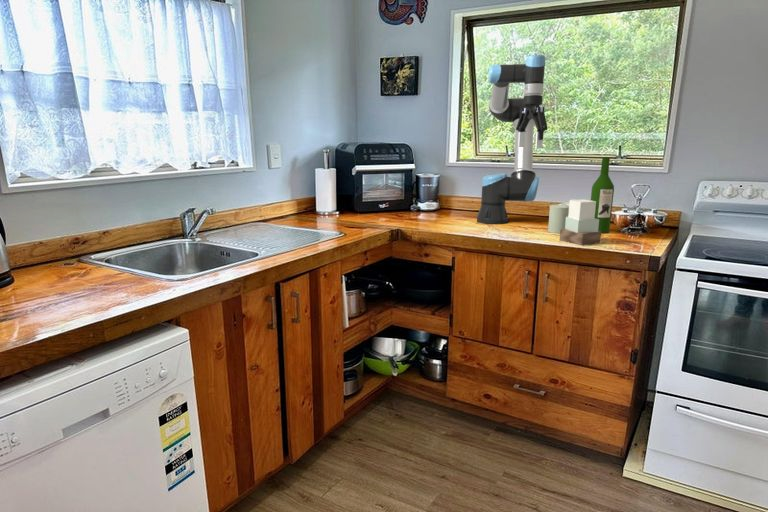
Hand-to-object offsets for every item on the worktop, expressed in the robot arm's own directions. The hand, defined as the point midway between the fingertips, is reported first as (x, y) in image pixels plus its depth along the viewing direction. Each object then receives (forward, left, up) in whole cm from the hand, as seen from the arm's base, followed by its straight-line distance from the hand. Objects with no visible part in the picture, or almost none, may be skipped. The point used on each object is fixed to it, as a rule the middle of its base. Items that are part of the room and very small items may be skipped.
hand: (529, 147), depth 209 cm
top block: (+22, +12, -32) cm, 41 cm away
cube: (+22, +12, -27) cm, 37 cm away
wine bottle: (+7, +33, -37) cm, 50 cm away
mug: (-10, +30, -37) cm, 49 cm away
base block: (+22, +12, -37) cm, 45 cm away
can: (+2, +16, -37) cm, 40 cm away
